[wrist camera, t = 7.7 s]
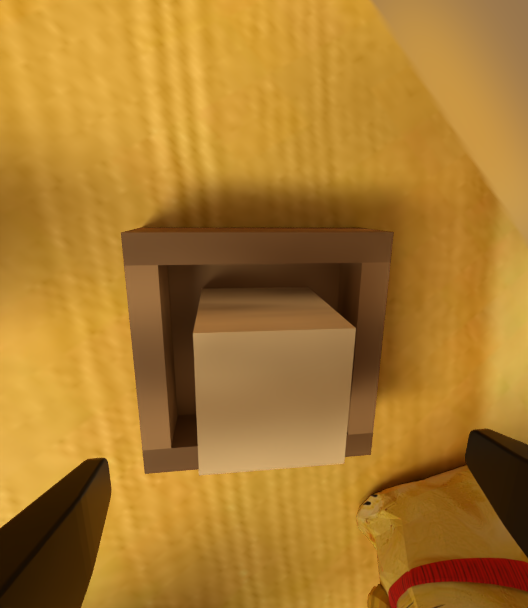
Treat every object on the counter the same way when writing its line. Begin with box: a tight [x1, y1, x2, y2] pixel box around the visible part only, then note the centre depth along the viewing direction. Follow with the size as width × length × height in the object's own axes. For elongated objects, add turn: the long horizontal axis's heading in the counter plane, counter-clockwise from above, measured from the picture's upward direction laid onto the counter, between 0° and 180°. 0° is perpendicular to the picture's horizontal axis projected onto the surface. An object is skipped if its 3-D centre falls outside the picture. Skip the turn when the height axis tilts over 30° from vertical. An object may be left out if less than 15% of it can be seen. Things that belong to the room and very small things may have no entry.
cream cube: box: [193, 287, 356, 475], centre depth 14 cm, size 5×5×6 cm
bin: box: [121, 228, 394, 474], centre depth 16 cm, size 10×10×4 cm
